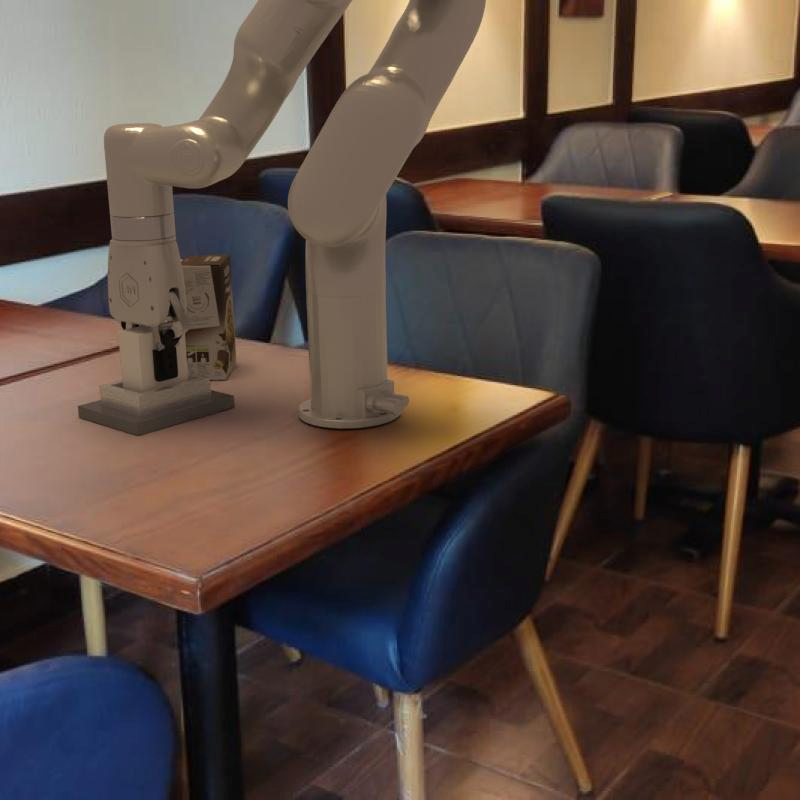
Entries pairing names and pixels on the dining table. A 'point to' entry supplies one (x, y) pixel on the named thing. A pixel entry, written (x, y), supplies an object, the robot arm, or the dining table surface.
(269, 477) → the dining table surface
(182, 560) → the dining table surface
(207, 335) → the coffee box
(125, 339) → the cream rectangular block
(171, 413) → the duct collar
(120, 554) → the dining table surface
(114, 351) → the dining table surface
